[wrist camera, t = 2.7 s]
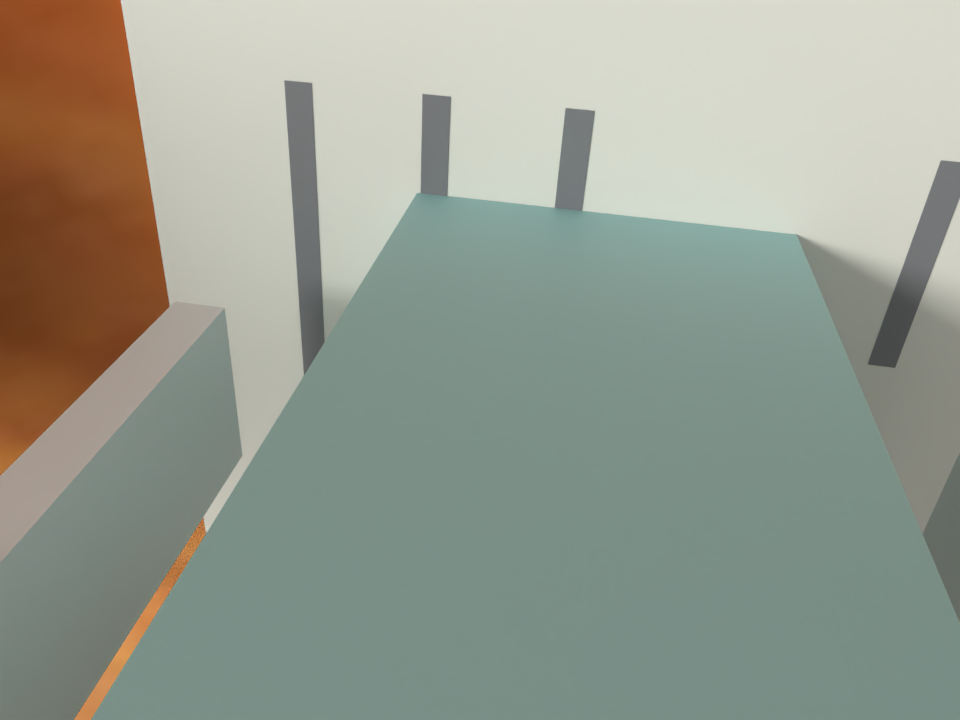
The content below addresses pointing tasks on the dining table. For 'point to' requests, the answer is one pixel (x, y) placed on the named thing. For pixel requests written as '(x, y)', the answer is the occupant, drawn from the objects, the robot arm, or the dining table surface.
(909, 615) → the block
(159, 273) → the dining table surface
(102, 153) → the dining table surface
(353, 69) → the letter
